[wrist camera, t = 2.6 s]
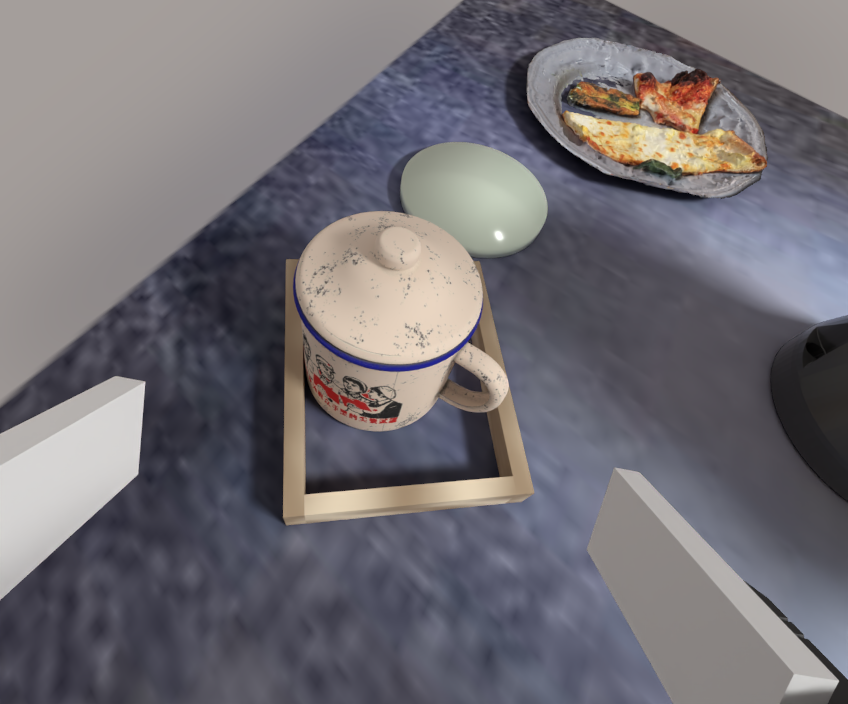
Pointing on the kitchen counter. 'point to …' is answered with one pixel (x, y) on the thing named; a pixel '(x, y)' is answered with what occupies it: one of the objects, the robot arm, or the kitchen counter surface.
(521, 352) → the kitchen counter surface
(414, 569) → the kitchen counter surface
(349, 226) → the teacup with lid
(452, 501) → the wooden frame
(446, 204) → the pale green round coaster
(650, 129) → the food plate
